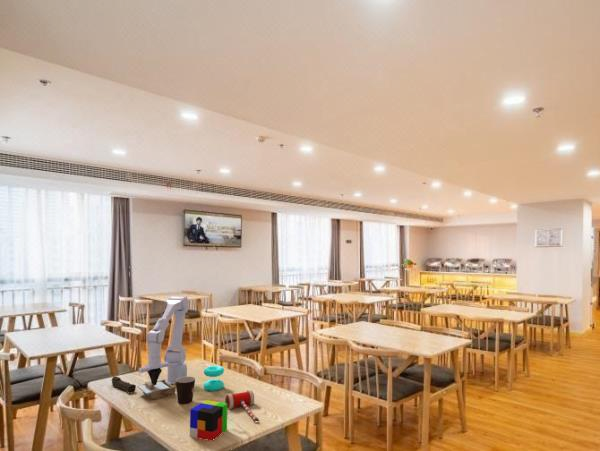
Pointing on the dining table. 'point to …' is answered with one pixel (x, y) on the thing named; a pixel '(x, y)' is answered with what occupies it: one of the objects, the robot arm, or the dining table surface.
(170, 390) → the wooden tray
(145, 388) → the lid
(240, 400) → the toy hammer
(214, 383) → the donuts
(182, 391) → the coffee mug
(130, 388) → the dark brown wooden log
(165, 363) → the robot arm
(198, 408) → the puzzle toy
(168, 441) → the dining table surface
